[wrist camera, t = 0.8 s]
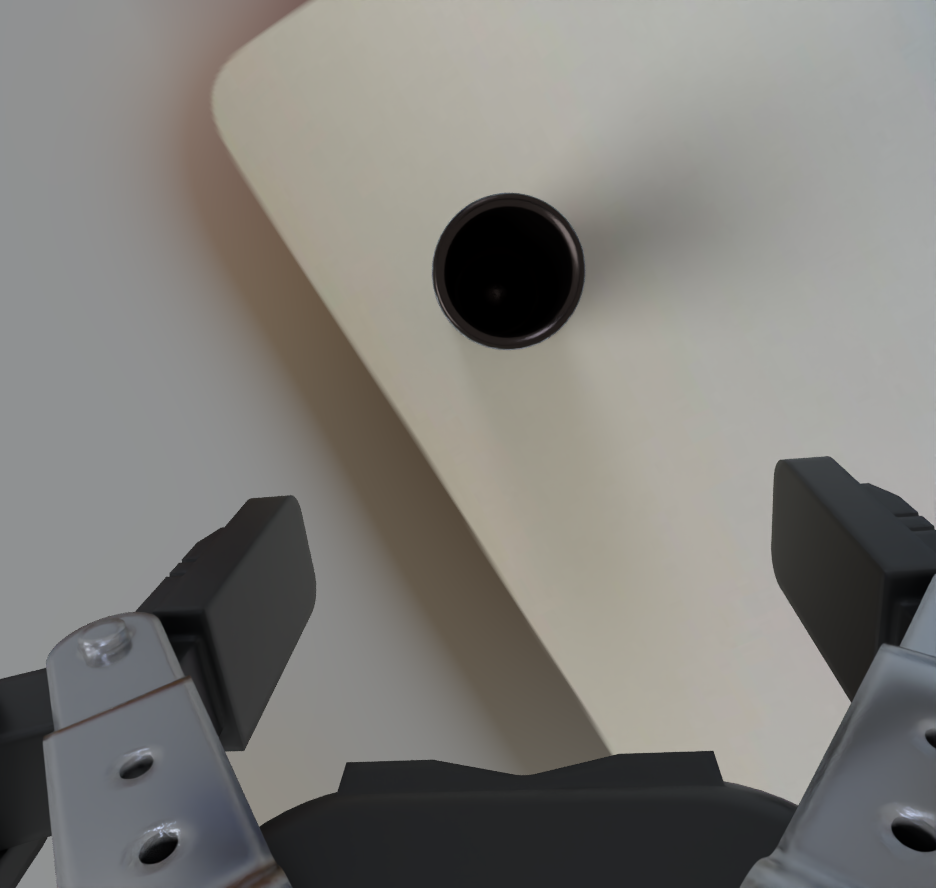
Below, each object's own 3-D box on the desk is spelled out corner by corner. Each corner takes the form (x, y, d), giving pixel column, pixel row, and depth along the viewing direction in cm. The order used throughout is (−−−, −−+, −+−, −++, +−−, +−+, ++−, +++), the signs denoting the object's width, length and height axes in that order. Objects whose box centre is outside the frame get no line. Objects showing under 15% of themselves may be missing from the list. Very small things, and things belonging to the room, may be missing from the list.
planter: (458, 228, 31) (453, 173, 20) (560, 256, 31) (605, 214, 21) (432, 331, 31) (414, 327, 21) (532, 358, 31) (562, 367, 21)
